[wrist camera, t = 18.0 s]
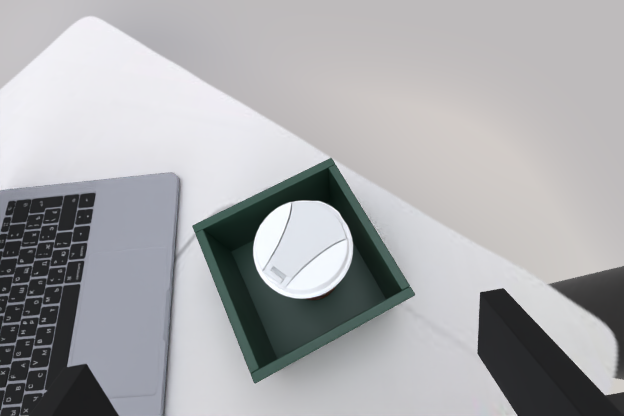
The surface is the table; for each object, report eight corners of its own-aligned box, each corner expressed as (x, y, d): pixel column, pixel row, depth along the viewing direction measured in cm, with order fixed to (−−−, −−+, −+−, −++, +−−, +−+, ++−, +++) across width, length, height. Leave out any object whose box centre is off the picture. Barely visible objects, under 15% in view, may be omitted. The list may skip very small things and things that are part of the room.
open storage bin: (396, 304, 37) (415, 294, 27) (275, 371, 35) (254, 383, 26) (332, 196, 42) (331, 157, 32) (225, 250, 40) (192, 225, 31)
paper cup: (321, 325, 36) (312, 320, 23) (265, 282, 38) (227, 254, 25) (362, 265, 38) (375, 229, 24) (307, 228, 40) (292, 175, 26)
